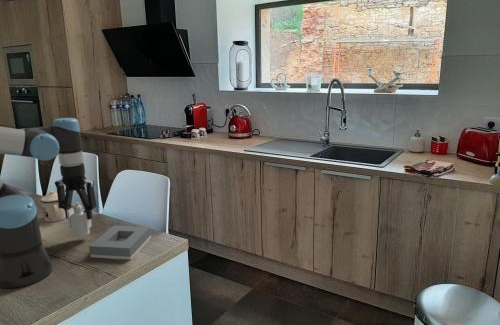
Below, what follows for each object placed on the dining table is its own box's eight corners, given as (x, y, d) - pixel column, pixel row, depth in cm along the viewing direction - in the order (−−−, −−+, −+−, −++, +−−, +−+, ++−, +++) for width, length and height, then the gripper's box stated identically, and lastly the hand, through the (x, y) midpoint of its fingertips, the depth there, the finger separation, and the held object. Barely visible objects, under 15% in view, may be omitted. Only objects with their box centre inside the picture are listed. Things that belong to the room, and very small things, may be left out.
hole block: (130, 259, 122) (129, 248, 121) (90, 257, 124) (88, 246, 123) (151, 237, 137) (150, 227, 136) (115, 235, 140) (113, 225, 139)
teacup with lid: (43, 217, 159) (38, 190, 156) (67, 212, 164) (62, 186, 161) (45, 227, 149) (40, 198, 146) (70, 221, 154) (66, 194, 151)
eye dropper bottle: (81, 230, 140) (77, 199, 137) (91, 233, 137) (87, 202, 134) (70, 235, 136) (66, 203, 133) (81, 238, 134) (76, 206, 131)
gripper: (103, 161, 132) (110, 224, 138) (54, 160, 135) (63, 221, 141) (90, 167, 125) (98, 233, 131) (39, 165, 128) (49, 230, 134)
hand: (80, 227), depth 136 cm, fingers closed on eye dropper bottle, 6 cm apart
